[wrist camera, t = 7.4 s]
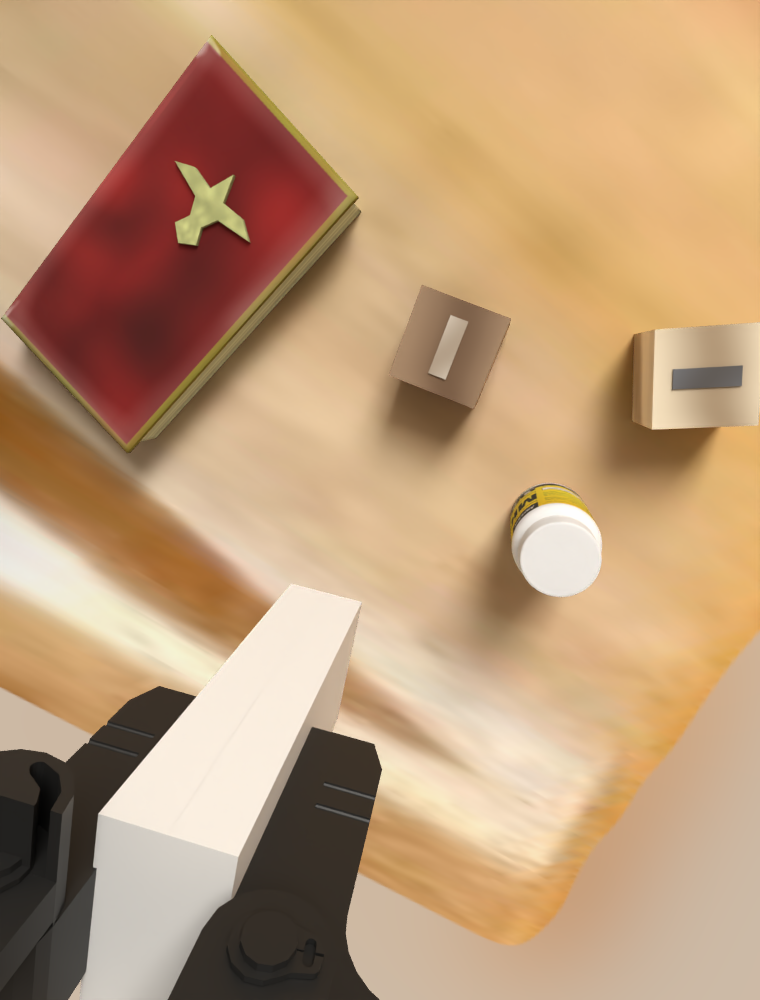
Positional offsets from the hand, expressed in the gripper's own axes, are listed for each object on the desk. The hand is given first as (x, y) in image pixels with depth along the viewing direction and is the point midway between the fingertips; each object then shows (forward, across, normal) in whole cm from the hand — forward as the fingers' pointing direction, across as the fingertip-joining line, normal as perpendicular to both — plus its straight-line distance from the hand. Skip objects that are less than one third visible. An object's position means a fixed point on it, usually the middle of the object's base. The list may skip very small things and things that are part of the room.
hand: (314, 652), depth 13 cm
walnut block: (+28, 0, +7) cm, 28 cm away
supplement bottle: (+28, +8, -2) cm, 29 cm away
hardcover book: (+29, -17, +8) cm, 35 cm away
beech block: (+27, +13, +8) cm, 31 cm away
